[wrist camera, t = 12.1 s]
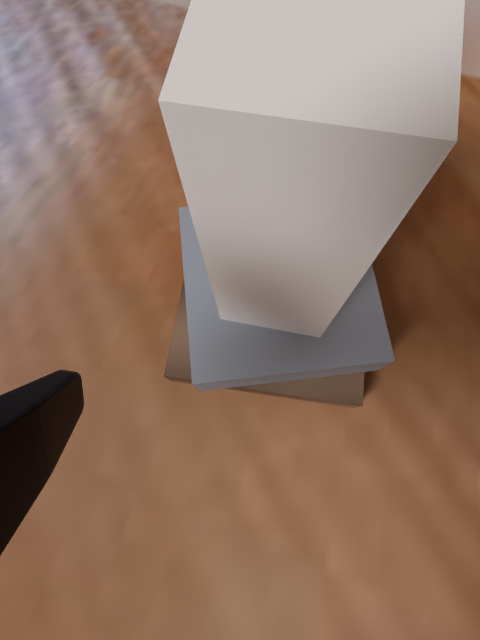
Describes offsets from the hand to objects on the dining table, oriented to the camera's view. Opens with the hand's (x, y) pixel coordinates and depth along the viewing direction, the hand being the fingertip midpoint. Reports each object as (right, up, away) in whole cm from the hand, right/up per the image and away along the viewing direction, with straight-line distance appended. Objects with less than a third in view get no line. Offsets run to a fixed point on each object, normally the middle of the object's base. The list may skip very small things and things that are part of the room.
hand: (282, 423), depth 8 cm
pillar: (+1, +4, +10) cm, 11 cm away
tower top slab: (+1, +3, +12) cm, 13 cm away
